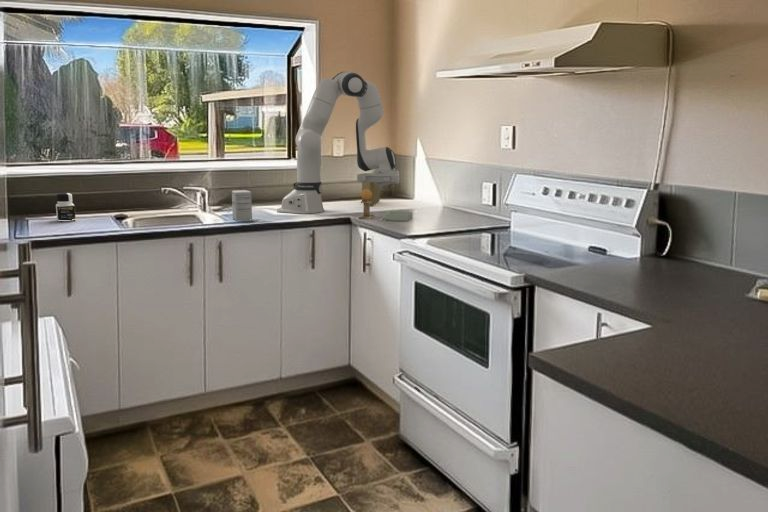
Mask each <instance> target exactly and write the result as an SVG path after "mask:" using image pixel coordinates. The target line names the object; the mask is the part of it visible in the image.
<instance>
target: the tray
mask: <svg viewBox="0 0 768 512" xmlns="http://www.w3.org/2000/svg"><path fill="white" fill-rule="evenodd" d="M384 216H385V218H384V221H385V220H387V222H388V221H392V222H410V220H412V219H413V211H405V210H404V211H401V210H389V211H387V212H385V213H384Z"/></svg>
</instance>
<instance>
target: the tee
mask: <svg viewBox="0 0 768 512" xmlns="http://www.w3.org/2000/svg"><path fill="white" fill-rule="evenodd" d="M371 202H372V199H369V200H367V201H366V200H364V199H363V200H362V199H361V202H360V203H361V204H363V207H362V208H363V209H362V210H363V214H362V215H359V216H358V220H359V219H360V220H362V219H364V220H373V219H374V218H375V217H376V216H375V215H372V214H371V212H370V211H371V210H370V209H371V208H370V203H371ZM373 217H374V218H373Z"/></svg>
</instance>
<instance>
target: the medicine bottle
mask: <svg viewBox="0 0 768 512" xmlns="http://www.w3.org/2000/svg"><path fill="white" fill-rule="evenodd" d="M56 201H57V203H56V204H55V212H56V213H55V214H56V220H57V219H58V220H72V219H76V220H77V217H76V206H75V204H74V203H73V194H72V193H70V192H60V193H57V194H56Z"/></svg>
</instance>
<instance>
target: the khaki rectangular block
mask: <svg viewBox="0 0 768 512" xmlns="http://www.w3.org/2000/svg"><path fill="white" fill-rule="evenodd" d="M364 189H369V190H370V191H371V192H372V197H371V199H372V202H371V203H370V207H374V206H375V205H376V204H377V203H378V202H380V200H381V186H378V185H376V184H375V183H374V182H361V192H362V191H363V190H364ZM362 200H363V198H362V197H361V201H362ZM366 201H367V200H366Z"/></svg>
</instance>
